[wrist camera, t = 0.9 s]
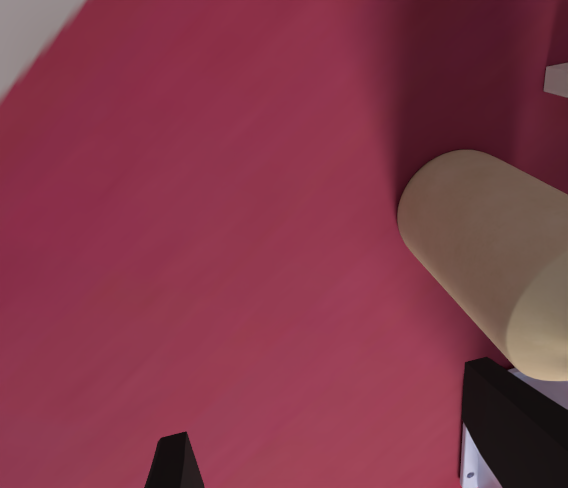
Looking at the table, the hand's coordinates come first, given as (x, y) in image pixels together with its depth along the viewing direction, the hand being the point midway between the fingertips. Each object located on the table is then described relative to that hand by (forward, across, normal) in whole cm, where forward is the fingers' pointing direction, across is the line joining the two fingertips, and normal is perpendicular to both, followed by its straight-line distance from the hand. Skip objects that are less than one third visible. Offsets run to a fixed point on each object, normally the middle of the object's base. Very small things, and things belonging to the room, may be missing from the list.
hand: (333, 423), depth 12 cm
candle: (+11, -9, 0) cm, 14 cm away
